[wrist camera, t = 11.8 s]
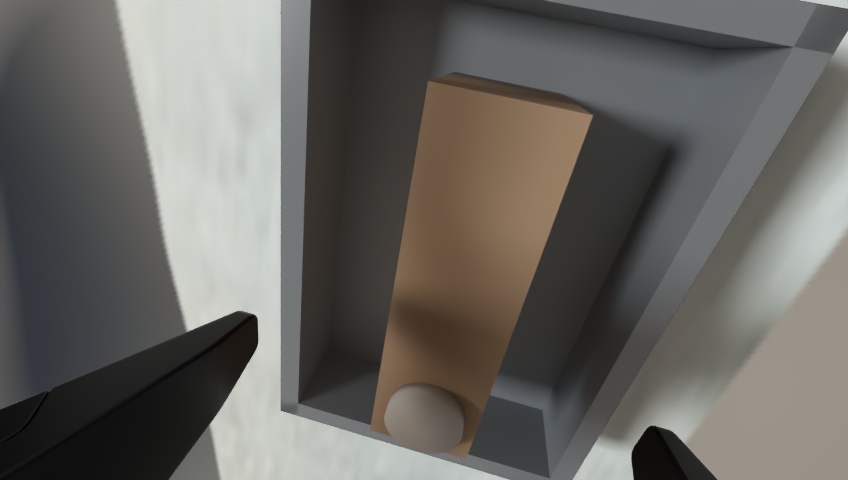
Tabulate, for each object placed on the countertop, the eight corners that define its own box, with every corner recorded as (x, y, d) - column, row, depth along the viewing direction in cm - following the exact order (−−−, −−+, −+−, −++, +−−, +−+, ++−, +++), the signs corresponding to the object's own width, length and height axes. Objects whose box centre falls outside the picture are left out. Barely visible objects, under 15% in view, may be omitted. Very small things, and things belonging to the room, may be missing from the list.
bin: (552, 415, 19) (562, 495, 16) (319, 349, 20) (280, 410, 17) (748, 24, 11) (859, 11, 8) (345, -49, 12) (281, -91, 9)
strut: (562, 93, 12) (599, 119, 7) (475, 359, 18) (464, 475, 13) (454, 71, 13) (422, 82, 8) (402, 339, 18) (364, 445, 13)
